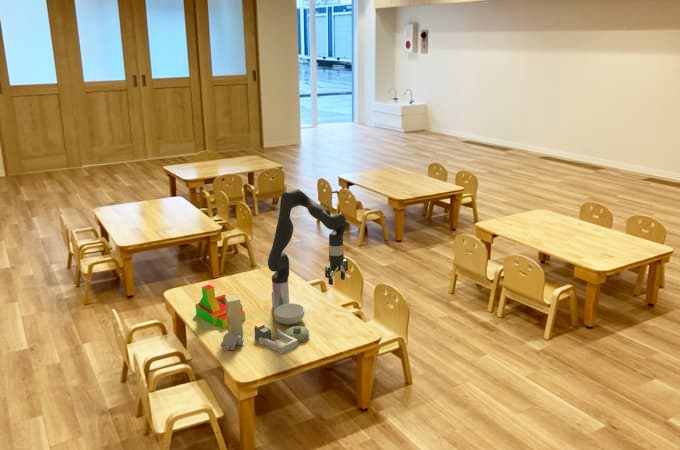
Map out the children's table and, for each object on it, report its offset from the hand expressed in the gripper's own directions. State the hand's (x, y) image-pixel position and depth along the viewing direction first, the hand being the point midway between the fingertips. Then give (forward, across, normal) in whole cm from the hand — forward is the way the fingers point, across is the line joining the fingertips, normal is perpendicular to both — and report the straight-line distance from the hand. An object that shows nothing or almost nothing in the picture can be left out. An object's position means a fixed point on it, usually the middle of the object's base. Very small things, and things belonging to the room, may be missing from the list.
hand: (336, 282), depth 310 cm
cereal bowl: (+30, +8, -29) cm, 42 cm away
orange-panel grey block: (+29, +30, -25) cm, 49 cm away
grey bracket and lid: (+29, +23, -15) cm, 40 cm away
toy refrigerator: (+30, +37, -40) cm, 62 cm away
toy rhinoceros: (+30, +46, -29) cm, 62 cm away
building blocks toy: (+30, +29, -62) cm, 75 cm away
